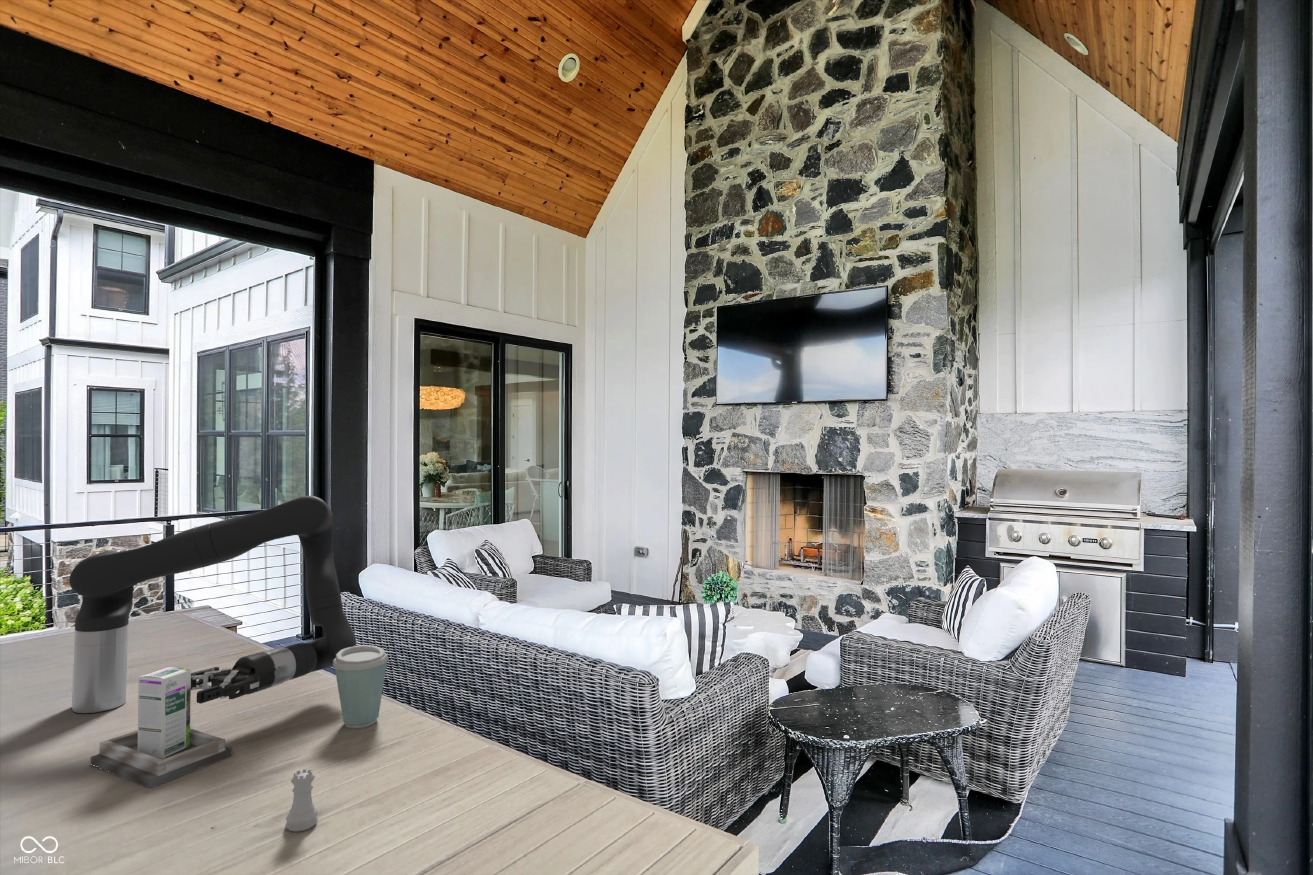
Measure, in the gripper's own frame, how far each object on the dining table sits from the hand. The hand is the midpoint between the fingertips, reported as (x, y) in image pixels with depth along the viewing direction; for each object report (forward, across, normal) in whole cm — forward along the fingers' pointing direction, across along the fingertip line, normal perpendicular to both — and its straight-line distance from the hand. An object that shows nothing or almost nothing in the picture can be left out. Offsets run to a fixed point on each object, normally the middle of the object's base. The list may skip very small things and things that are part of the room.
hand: (183, 693), depth 131 cm
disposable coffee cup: (-26, +17, +11) cm, 33 cm away
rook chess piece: (+6, +41, +11) cm, 43 cm away
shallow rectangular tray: (+3, 0, +11) cm, 12 cm away
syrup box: (+3, 0, +10) cm, 10 cm away
